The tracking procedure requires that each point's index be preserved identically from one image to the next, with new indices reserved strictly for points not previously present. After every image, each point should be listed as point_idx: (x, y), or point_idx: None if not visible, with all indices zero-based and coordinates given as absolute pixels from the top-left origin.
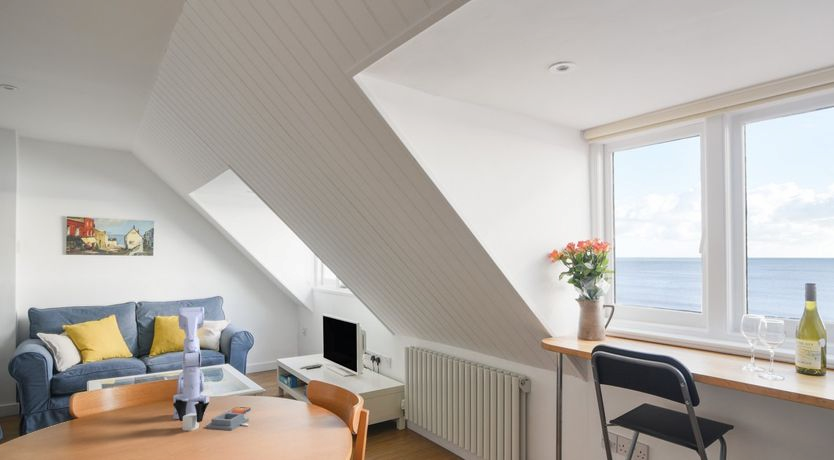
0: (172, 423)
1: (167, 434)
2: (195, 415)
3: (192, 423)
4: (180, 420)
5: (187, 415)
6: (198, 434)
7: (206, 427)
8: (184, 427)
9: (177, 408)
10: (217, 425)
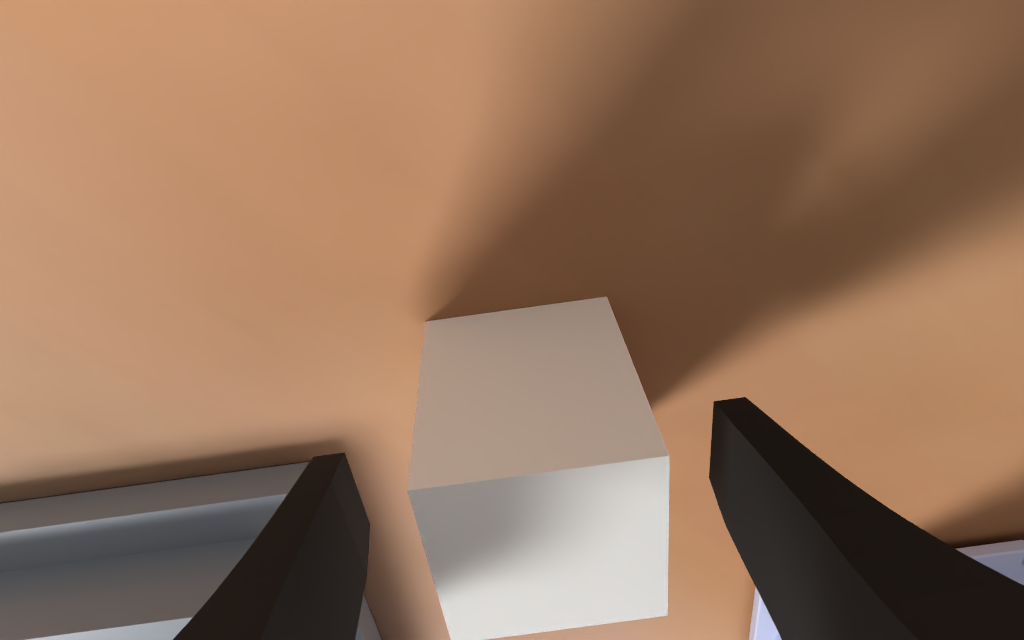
0: (964, 427)
1: (715, 20)
2: (436, 576)
3: (420, 407)
4: (735, 406)
5: (616, 527)
6: (139, 237)
7: (301, 469)
8: (577, 325)
9: (948, 600)
10: (138, 541)
